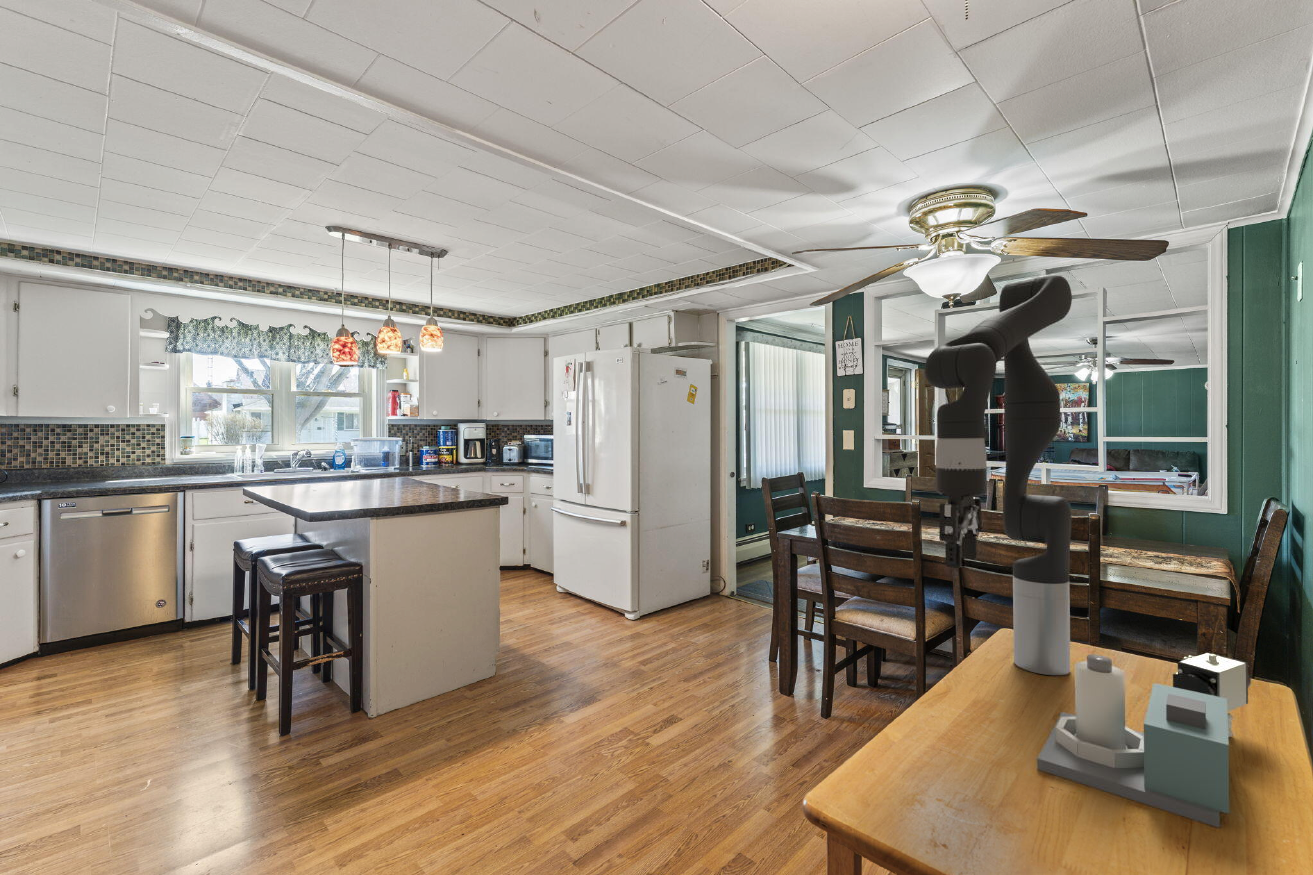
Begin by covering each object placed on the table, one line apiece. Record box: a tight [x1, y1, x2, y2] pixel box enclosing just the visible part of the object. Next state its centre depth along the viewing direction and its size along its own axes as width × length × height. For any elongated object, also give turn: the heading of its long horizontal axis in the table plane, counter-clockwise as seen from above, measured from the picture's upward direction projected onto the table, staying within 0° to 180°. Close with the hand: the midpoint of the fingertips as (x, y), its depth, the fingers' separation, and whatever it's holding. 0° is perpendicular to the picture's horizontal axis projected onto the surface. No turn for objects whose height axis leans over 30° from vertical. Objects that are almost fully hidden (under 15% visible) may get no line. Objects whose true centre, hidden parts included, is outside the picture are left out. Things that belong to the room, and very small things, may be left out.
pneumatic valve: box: [1172, 652, 1252, 739], centre depth 90 cm, size 6×12×12 cm, turn 115°
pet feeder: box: [1036, 682, 1230, 829], centre depth 81 cm, size 19×19×12 cm
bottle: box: [1074, 654, 1128, 750], centre depth 83 cm, size 6×6×12 cm
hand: (961, 562), depth 99 cm, fingers open, 8 cm apart
